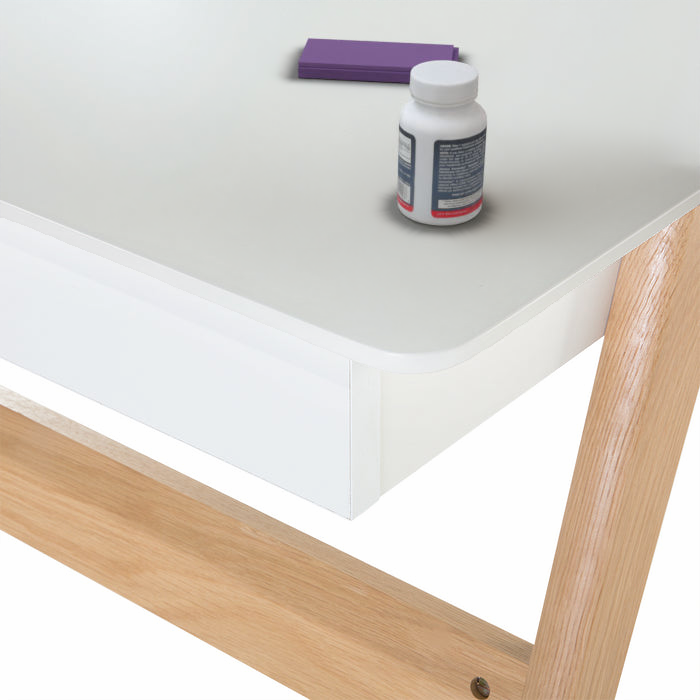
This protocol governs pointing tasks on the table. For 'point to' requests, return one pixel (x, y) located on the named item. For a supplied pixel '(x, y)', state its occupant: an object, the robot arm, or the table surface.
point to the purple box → (368, 59)
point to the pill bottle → (442, 145)
